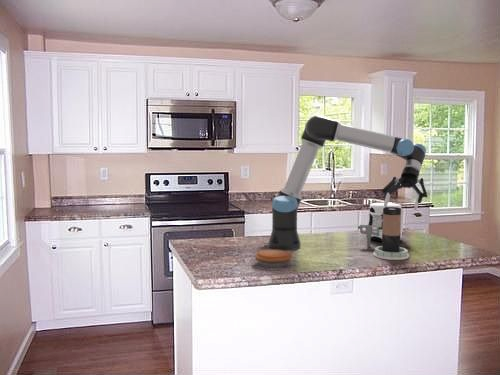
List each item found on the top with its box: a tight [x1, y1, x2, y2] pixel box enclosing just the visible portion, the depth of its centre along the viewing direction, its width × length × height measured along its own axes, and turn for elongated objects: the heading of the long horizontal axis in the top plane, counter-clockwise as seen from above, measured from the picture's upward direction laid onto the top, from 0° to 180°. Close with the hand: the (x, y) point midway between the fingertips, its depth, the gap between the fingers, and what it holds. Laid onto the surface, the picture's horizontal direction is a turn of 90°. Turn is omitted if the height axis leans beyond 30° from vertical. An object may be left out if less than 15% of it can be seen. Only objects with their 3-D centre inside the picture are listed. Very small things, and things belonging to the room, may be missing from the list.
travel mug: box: [381, 207, 402, 252], centre depth 202 cm, size 8×8×20 cm
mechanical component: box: [357, 224, 381, 248], centre depth 220 cm, size 3×10×10 cm, turn 79°
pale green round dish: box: [372, 245, 410, 261], centre depth 202 cm, size 15×15×3 cm
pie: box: [254, 249, 294, 268], centre depth 189 cm, size 16×16×5 cm
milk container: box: [367, 202, 404, 242], centre depth 234 cm, size 17×17×18 cm
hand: (399, 206), depth 208 cm, fingers open, 13 cm apart
